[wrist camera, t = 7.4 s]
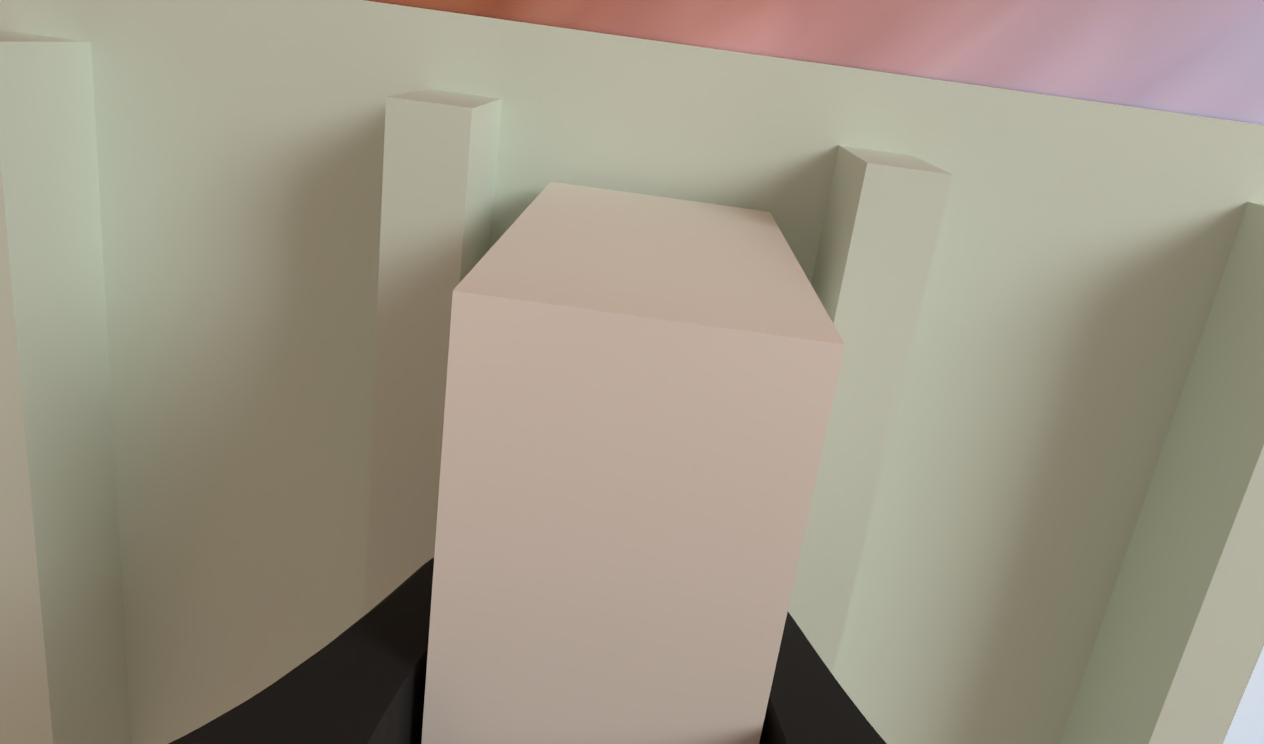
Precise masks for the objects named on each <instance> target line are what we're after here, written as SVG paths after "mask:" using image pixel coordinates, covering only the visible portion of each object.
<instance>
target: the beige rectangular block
mask: <svg viewBox="0 0 1264 744" xmlns="http://www.w3.org/2000/svg"><path fill="white" fill-rule="evenodd" d="M844 348H845V343H844V342H843V340H842V338H841V336H840V335H839V333H838V331H837V329H836V328H835V326H834V324H833V322H832V320H831V319H830V317H829V315H828V313H827V312H826V310H825V308H824V306H823V305H822V303H821V301H820V299H819V298H818V296H817V294H816V292H815V291H814V289H813V287H812V285H811V283H810V282H809V280H808V278H807V276H806V275H805V273H804V271H803V269H802V268H801V266H800V264H799V262H798V261H797V259H796V257H795V255H794V253H793V252H792V250H791V248H790V246H789V245H788V243H787V241H786V239H785V238H784V236H783V234H782V232H781V231H780V229H779V227H778V225H777V224H776V222H775V220H774V218H773V216H772V215H771V213H770V212H768V211H761V210H753V209H746V208H739V207H732V206H724V205H717V204H710V203H703V202H695V201H688V200H681V199H674V198H666V197H659V196H652V195H645V194H637V193H630V192H623V191H616V190H608V189H601V188H594V187H587V186H579V185H572V184H565V183H558V182H550V183H549V184H548V185H547V186H546V187H545V188H544V189H543V191H542V192H541V193H540V194H539V195H538V196H537V197H536V198H535V200H534V201H533V202H532V203H531V204H530V205H529V206H528V207H527V208H526V210H525V211H524V212H523V213H522V214H521V215H520V216H519V217H518V218H517V220H516V221H515V222H514V223H513V224H512V225H511V226H510V227H509V228H508V230H507V231H506V232H505V233H504V234H503V235H502V236H501V237H500V239H499V240H498V241H497V242H496V243H495V244H494V245H493V246H492V247H491V249H490V250H489V251H488V252H487V253H486V254H485V255H484V256H483V257H482V259H481V260H480V261H479V262H478V263H477V264H476V265H475V266H474V268H473V269H472V270H471V271H470V272H469V273H468V274H467V275H466V276H465V278H464V279H463V280H462V281H461V282H460V283H459V284H458V285H457V286H456V288H455V289H454V290H453V295H452V309H451V324H450V338H449V352H448V367H447V381H446V396H445V410H444V424H443V439H442V453H441V468H440V482H439V496H438V511H437V525H436V540H435V554H434V568H433V583H432V597H431V612H430V626H429V640H428V655H427V669H426V684H425V698H424V712H423V727H422V741H421V744H759V742H760V737H761V732H762V728H763V723H764V719H765V714H766V709H767V705H768V700H769V695H770V691H771V686H772V681H773V677H774V672H775V668H776V663H777V658H778V654H779V649H780V644H781V640H782V635H783V630H784V626H785V621H786V617H787V612H788V607H789V603H790V598H791V593H792V589H793V584H794V579H795V575H796V570H797V566H798V561H799V556H800V552H801V547H802V542H803V538H804V533H805V528H806V524H807V519H808V515H809V510H810V505H811V501H812V496H813V491H814V487H815V482H816V477H817V473H818V468H819V464H820V459H821V454H822V450H823V445H824V440H825V436H826V431H827V426H828V422H829V417H830V413H831V408H832V403H833V399H834V394H835V389H836V385H837V380H838V375H839V371H840V366H841V362H842V357H843V352H844Z"/></svg>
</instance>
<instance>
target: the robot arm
mask: <svg viewBox="0 0 1264 744" xmlns="http://www.w3.org/2000/svg"><path fill="white" fill-rule="evenodd" d="M433 568H434V557H433V558H432V559H430V560H429V561H428V562H426V563H425V564H424V565H423V566H421V567H420V568H419V569H418V570H417V571H416V572H414V573H413V574H412V575H411V576H410V577H409V578H408V579H407V580H405V581H404V582H403V583H402V584H401V585H400V586H399V587H397V588H396V589H395V590H394V591H393V592H392V593H390V594H389V595H388V596H387V597H386V598H385V599H383V600H382V601H381V602H380V603H379V604H377V605H376V606H375V607H374V608H373V609H372V610H370V611H369V612H368V613H367V614H365V615H364V616H363V617H362V618H360V619H359V620H358V621H357V622H355V623H354V624H353V625H352V626H350V627H349V628H348V629H347V630H345V631H344V632H343V633H342V634H340V635H339V636H338V637H337V638H335V639H334V640H333V641H332V642H330V643H329V644H328V645H326V646H325V647H324V648H322V649H321V650H320V651H318V652H317V653H315V654H314V655H313V656H311V657H310V658H308V659H307V660H305V661H304V662H303V663H301V664H300V665H298V666H297V667H296V668H294V669H293V670H291V671H290V672H289V673H287V674H286V675H284V676H283V677H281V678H280V679H279V680H277V681H276V682H274V683H273V684H271V685H270V686H268V687H267V688H265V689H264V690H262V691H261V692H259V693H258V694H256V695H255V696H253V697H251V698H250V699H248V700H247V701H245V702H243V703H242V704H240V705H238V706H236V707H235V708H233V709H231V710H230V711H228V712H226V713H224V714H223V715H221V716H219V717H217V718H216V719H214V720H212V721H210V722H209V723H207V724H205V725H203V726H202V727H200V728H198V729H196V730H194V731H192V732H190V733H188V734H187V735H185V736H183V737H181V738H179V739H177V740H174V741H172V742H170V743H168V744H421V741H422V727H423V712H424V698H425V684H426V669H427V655H428V640H429V626H430V612H431V597H432V583H433ZM759 744H887V743H886V742H885V741H884V740H883V739H882V738H881V736H880V735H879V734H878V733H877V731H876V730H875V729H874V728H873V727H872V725H871V724H870V723H869V722H868V721H867V719H866V718H865V717H864V715H863V714H862V713H861V712H860V710H859V709H858V708H857V706H856V705H855V704H854V702H853V701H852V700H851V699H850V697H849V696H848V695H847V693H846V692H845V691H844V689H843V688H842V687H841V685H840V684H839V683H838V681H837V680H836V679H835V677H834V676H833V674H832V673H831V672H830V670H829V669H828V667H827V666H826V665H825V663H824V662H823V660H822V659H821V658H820V656H819V655H818V653H817V652H816V651H815V649H814V648H813V646H812V645H811V643H810V642H809V640H808V639H807V638H806V636H805V635H804V633H803V632H802V630H801V629H800V627H799V626H798V625H797V623H796V622H795V620H794V619H793V617H792V616H791V615H790V613H789V612H787V617H786V621H785V626H784V630H783V635H782V640H781V644H780V649H779V654H778V658H777V663H776V668H775V672H774V677H773V681H772V686H771V691H770V695H769V700H768V705H767V709H766V714H765V719H764V723H763V728H762V732H761V737H760V742H759Z"/></svg>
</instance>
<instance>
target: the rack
mask: <svg viewBox="0 0 1264 744" xmlns="http://www.w3.org/2000/svg"><path fill="white" fill-rule="evenodd" d="M550 182H558V183H565V184H572V185H579V186H587V187H594V188H601V189H608V190H616V191H623V192H630V193H637V194H645V195H652V196H659V197H666V198H674V199H681V200H688V201H695V202H703V203H710V204H717V205H724V206H732V207H739V208H746V209H753V210H761V211H768V212H770V213H771V215H772V216H773V218H774V220H775V222H776V224H777V225H778V227H779V229H780V231H781V232H782V234H783V236H784V238H785V239H786V241H787V243H788V245H789V246H790V248H791V250H792V252H793V253H794V255H795V257H796V259H797V261H798V262H799V264H800V266H801V268H802V269H803V271H804V273H805V275H806V276H807V278H808V280H809V282H810V283H811V285H812V287H813V289H814V291H815V292H816V294H817V296H818V298H819V299H820V301H821V303H822V305H823V306H824V308H825V310H826V312H827V313H828V315H829V317H830V319H831V320H832V322H833V324H834V326H835V328H836V329H837V331H838V333H839V335H840V336H841V338H842V340H843V342H844V343H845V348H844V352H843V357H842V362H841V366H840V371H839V375H838V380H837V385H836V389H835V394H834V399H833V403H832V408H831V413H830V417H829V422H828V426H827V431H826V436H825V440H824V445H823V450H822V454H821V459H820V464H819V468H818V473H817V477H816V482H815V487H814V491H813V496H812V501H811V505H810V510H809V515H808V519H807V524H806V528H805V533H804V538H803V542H802V547H801V552H800V556H799V561H798V566H797V570H796V575H795V579H794V584H793V589H792V593H791V598H790V603H789V607H788V612H789V613H790V615H791V616H792V617H793V619H794V620H795V622H796V623H797V625H798V626H799V627H800V629H801V630H802V632H803V633H804V635H805V636H806V638H807V639H808V640H809V642H810V643H811V645H812V646H813V648H814V649H815V651H816V652H817V653H818V655H819V656H820V658H821V659H822V660H823V662H824V663H825V665H826V666H827V667H828V669H829V670H830V672H831V673H832V674H833V676H834V677H835V679H836V680H837V681H838V683H839V684H840V685H841V687H842V688H843V689H844V691H845V692H846V693H847V695H848V696H849V697H850V699H851V700H852V701H853V702H854V704H855V705H856V706H857V708H858V709H859V710H860V712H861V713H862V714H863V715H864V717H865V718H866V719H867V721H868V722H869V723H870V724H871V725H872V727H873V728H874V729H875V730H876V731H877V733H878V734H879V735H880V736H881V738H882V739H883V740H884V741H885V742H886V743H887V744H1223V741H1224V739H1225V737H1226V734H1227V732H1228V729H1229V727H1230V725H1231V722H1232V720H1233V717H1234V715H1235V713H1236V710H1237V708H1238V706H1239V703H1240V701H1241V698H1242V696H1243V694H1244V691H1245V689H1246V686H1247V684H1248V682H1249V679H1250V677H1251V674H1252V672H1253V670H1254V667H1255V665H1256V662H1257V660H1258V658H1259V655H1260V653H1261V650H1262V648H1263V646H1264V125H1261V124H1254V123H1246V122H1239V121H1232V120H1225V119H1218V118H1210V117H1203V116H1196V115H1189V114H1181V113H1174V112H1167V111H1160V110H1153V109H1145V108H1138V107H1131V106H1124V105H1116V104H1109V103H1102V102H1095V101H1088V100H1080V99H1073V98H1066V97H1059V96H1051V95H1044V94H1037V93H1030V92H1022V91H1015V90H1008V89H1001V88H994V87H986V86H979V85H972V84H965V83H957V82H950V81H943V80H936V79H929V78H921V77H914V76H907V75H900V74H892V73H885V72H878V71H871V70H864V69H856V68H849V67H842V66H835V65H827V64H820V63H813V62H806V61H798V60H791V59H784V58H777V57H770V56H762V55H755V54H748V53H741V52H733V51H726V50H719V49H712V48H705V47H697V46H690V45H683V44H676V43H668V42H661V41H654V40H647V39H640V38H632V37H625V36H618V35H611V34H603V33H596V32H589V31H582V30H575V29H567V28H560V27H553V26H546V25H538V24H531V23H524V22H517V21H509V20H502V19H495V18H488V17H481V16H473V15H466V14H459V13H452V12H444V11H437V10H430V9H423V8H416V7H408V6H401V5H394V4H387V3H379V2H372V1H365V0H0V744H168V743H170V742H172V741H174V740H177V739H179V738H181V737H183V736H185V735H187V734H188V733H190V732H192V731H194V730H196V729H198V728H200V727H202V726H203V725H205V724H207V723H209V722H210V721H212V720H214V719H216V718H217V717H219V716H221V715H223V714H224V713H226V712H228V711H230V710H231V709H233V708H235V707H236V706H238V705H240V704H242V703H243V702H245V701H247V700H248V699H250V698H251V697H253V696H255V695H256V694H258V693H259V692H261V691H262V690H264V689H265V688H267V687H268V686H270V685H271V684H273V683H274V682H276V681H277V680H279V679H280V678H281V677H283V676H284V675H286V674H287V673H289V672H290V671H291V670H293V669H294V668H296V667H297V666H298V665H300V664H301V663H303V662H304V661H305V660H307V659H308V658H310V657H311V656H313V655H314V654H315V653H317V652H318V651H320V650H321V649H322V648H324V647H325V646H326V645H328V644H329V643H330V642H332V641H333V640H334V639H335V638H337V637H338V636H339V635H340V634H342V633H343V632H344V631H345V630H347V629H348V628H349V627H350V626H352V625H353V624H354V623H355V622H357V621H358V620H359V619H360V618H362V617H363V616H364V615H365V614H367V613H368V612H369V611H370V610H372V609H373V608H374V607H375V606H376V605H377V604H379V603H380V602H381V601H382V600H383V599H385V598H386V597H387V596H388V595H389V594H390V593H392V592H393V591H394V590H395V589H396V588H397V587H399V586H400V585H401V584H402V583H403V582H404V581H405V580H407V579H408V578H409V577H410V576H411V575H412V574H413V573H414V572H416V571H417V570H418V569H419V568H420V567H421V566H423V565H424V564H425V563H426V562H428V561H429V560H430V559H432V558H433V557H434V554H435V540H436V525H437V511H438V496H439V482H440V468H441V453H442V439H443V424H444V410H445V396H446V381H447V367H448V352H449V338H450V324H451V309H452V295H453V290H454V289H455V288H456V286H457V285H458V284H459V283H460V282H461V281H462V280H463V279H464V278H465V276H466V275H467V274H468V273H469V272H470V271H471V270H472V269H473V268H474V266H475V265H476V264H477V263H478V262H479V261H480V260H481V259H482V257H483V256H484V255H485V254H486V253H487V252H488V251H489V250H490V249H491V247H492V246H493V245H494V244H495V243H496V242H497V241H498V240H499V239H500V237H501V236H502V235H503V234H504V233H505V232H506V231H507V230H508V228H509V227H510V226H511V225H512V224H513V223H514V222H515V221H516V220H517V218H518V217H519V216H520V215H521V214H522V213H523V212H524V211H525V210H526V208H527V207H528V206H529V205H530V204H531V203H532V202H533V201H534V200H535V198H536V197H537V196H538V195H539V194H540V193H541V192H542V191H543V189H544V188H545V187H546V186H547V185H548V184H549V183H550Z"/></svg>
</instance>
